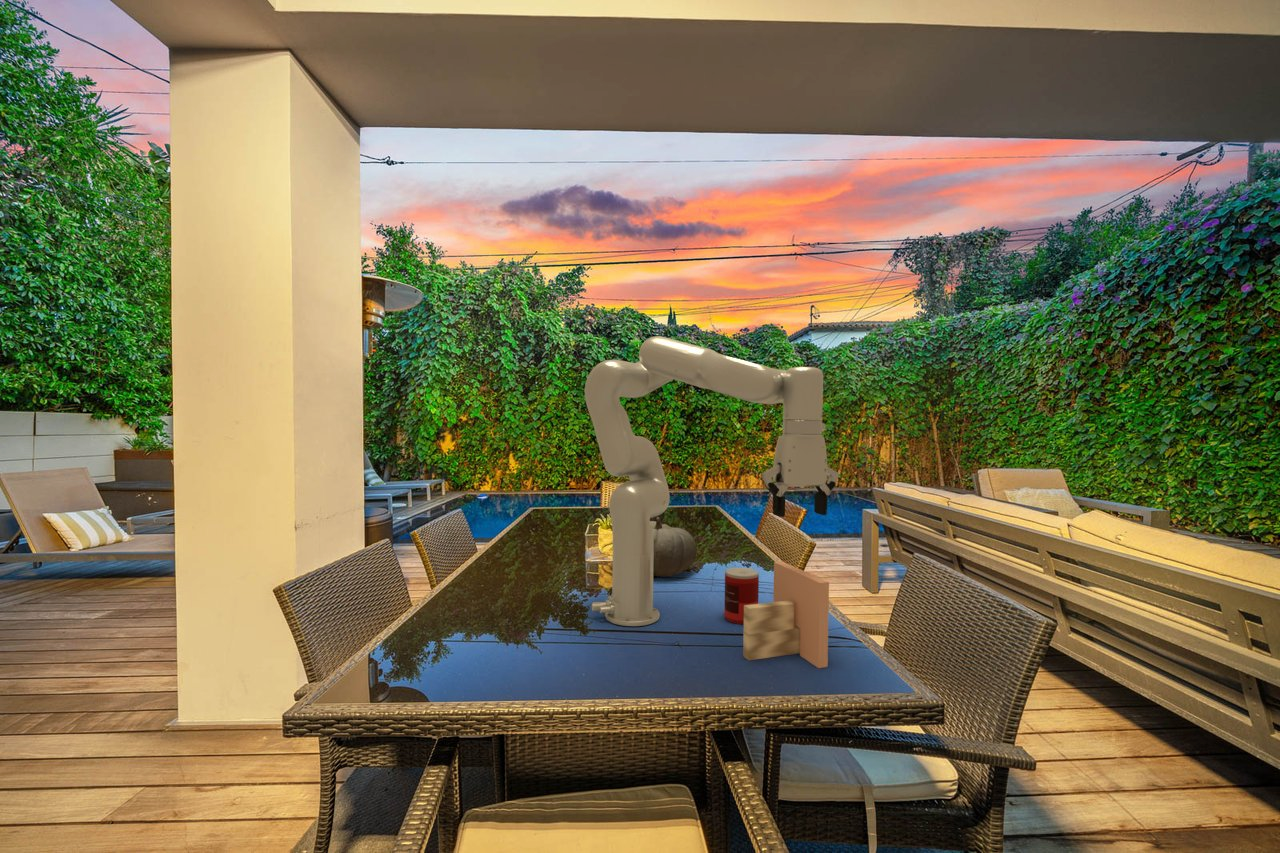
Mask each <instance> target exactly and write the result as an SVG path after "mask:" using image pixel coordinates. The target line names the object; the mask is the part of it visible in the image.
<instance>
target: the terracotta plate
mask: <svg viewBox="0 0 1280 853" xmlns="http://www.w3.org/2000/svg"><path fill="white" fill-rule="evenodd" d="M772 597H773V600H772V602H781V601H790V602H792V603H793V604H794V625H795V626H797V627H798V628H800V653H799V656H800V657H801V658H803V659H804V660H806V661H807V662H808V663H810V664H811V665H812V666H815V667H816V668H817V669H823V668H828V667H829V666H828V663H829V658H828V656H829V653H828V652H829V614H830V613H829V606H830V605H829V603H830V600H829V599H830V582H829V581H828V580H826V579H823V578H821V577H820V576H819V577H818V576H816V575H814V574H811V573H810V572H807V571H805V570H802V569H800V568H799V567H798V568H797V567H796V566H793V565H791V564H789V563H787V562H784V561H774V562H773V596H772Z"/></svg>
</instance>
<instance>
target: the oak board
mask: <svg viewBox="0 0 1280 853" xmlns="http://www.w3.org/2000/svg"><path fill="white" fill-rule="evenodd" d="M742 642H743V644H742V645H743V648H742V649H743V650H742V656H743V658H744V659H745V660H747V661H755V660H761V659H762V660H763V659H768V658H777V657H782V656H789V655H796V654H800V628H798V627H797V626H795V625H794V604H793V603H792V602H790V601H781V602H773V601H772V602H763V603H758V604H752V605H744V624H743V641H742Z"/></svg>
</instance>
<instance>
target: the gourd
mask: <svg viewBox="0 0 1280 853" xmlns="http://www.w3.org/2000/svg"><path fill="white" fill-rule="evenodd" d="M650 524H651V528H652V532H653V541H654V559H653V576H655V577H662V578H663V577H665V578H666V577H667V578H668V577H670V576H673V577H674V576H676V575H678V574H680V573H683V572H685V571H686V570H689V568H690V567H691V566H692V565H693V564H694V562H695V561H696V558H697V556H698V555H697V554H698V553H697V552H698V546H697V543H696V541H695V539H694V537H693V535H692V534H691V533H690V532H689V531H687V530H686V529H684V528H680V527H671V526H670V525H668V524H666V523H662V521H661V519H660V517H659V516H656V519H655V521H654V520H650Z"/></svg>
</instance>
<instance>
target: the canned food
mask: <svg viewBox="0 0 1280 853" xmlns="http://www.w3.org/2000/svg"><path fill="white" fill-rule="evenodd" d="M759 578H760V574H759V571H758V570H756V569H755V568H754V569H753V568H749V567H743V566H742V567H737V566H736V567H731V568H728V569H726V570H725V572H724V617H725V619H726V620H727V621H728V622H730V623H733V624H737V625H744V605H752V604H759V588H760V587H759V586H760V584H759V582H760V579H759Z"/></svg>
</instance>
